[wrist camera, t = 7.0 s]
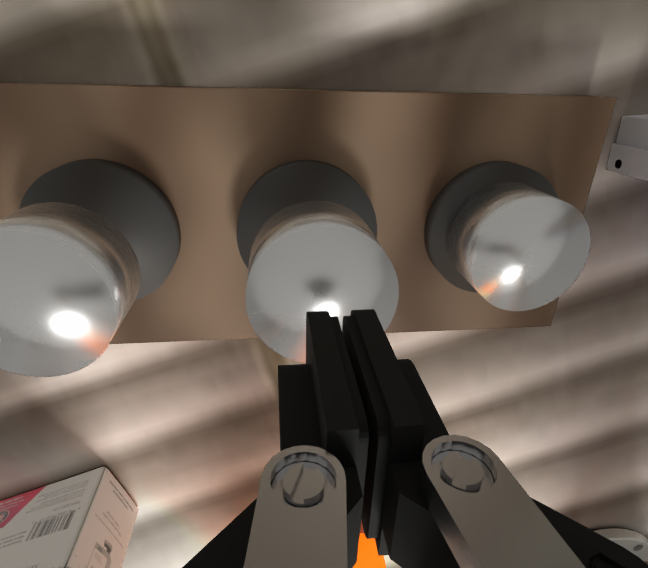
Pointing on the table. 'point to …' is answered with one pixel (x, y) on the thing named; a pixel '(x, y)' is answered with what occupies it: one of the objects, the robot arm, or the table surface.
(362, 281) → the plunger
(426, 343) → the table surface
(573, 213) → the plunger
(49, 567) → the ink box
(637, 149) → the walkman
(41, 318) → the grey short cylinder
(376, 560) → the orange juice
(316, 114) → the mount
